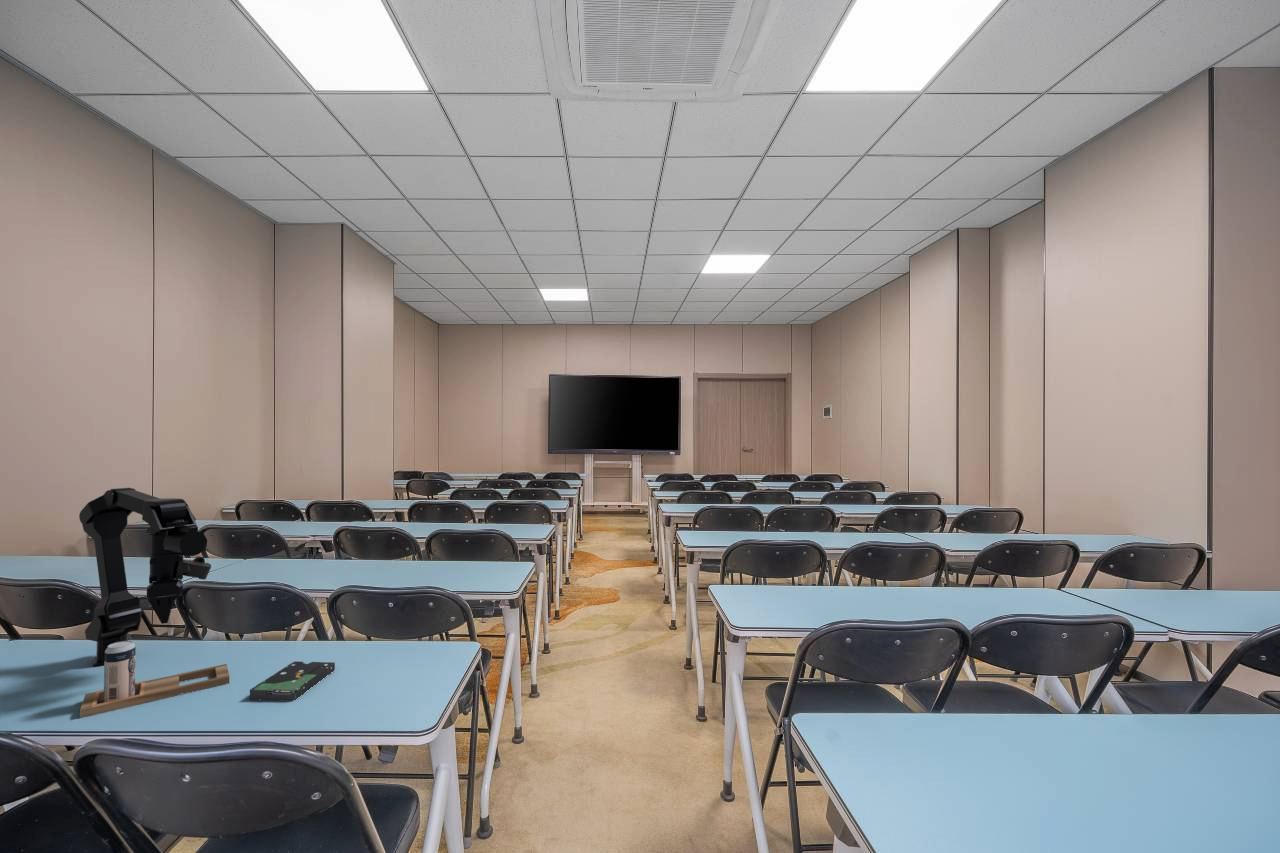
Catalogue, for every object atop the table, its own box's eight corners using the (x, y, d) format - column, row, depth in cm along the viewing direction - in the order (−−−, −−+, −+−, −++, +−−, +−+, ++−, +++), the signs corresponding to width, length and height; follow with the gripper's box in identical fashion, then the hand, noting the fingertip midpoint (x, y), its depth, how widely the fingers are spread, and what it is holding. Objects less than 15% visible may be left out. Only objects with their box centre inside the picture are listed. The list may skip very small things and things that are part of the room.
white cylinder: (138, 698, 118) (139, 642, 118) (109, 708, 113) (110, 650, 114) (128, 693, 120) (129, 638, 120) (99, 702, 116) (100, 645, 116)
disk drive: (293, 672, 132) (248, 702, 117) (293, 661, 132) (248, 689, 117) (335, 673, 132) (296, 703, 117) (335, 661, 132) (296, 689, 117)
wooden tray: (85, 701, 116) (85, 693, 116) (226, 670, 132) (226, 663, 132) (79, 718, 109) (79, 710, 110) (229, 683, 125) (229, 676, 125)
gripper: (210, 554, 129) (209, 621, 128) (207, 542, 143) (206, 602, 143) (147, 561, 121) (145, 632, 121) (150, 547, 136) (149, 610, 135)
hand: (165, 617), depth 130 cm, fingers open, 9 cm apart
